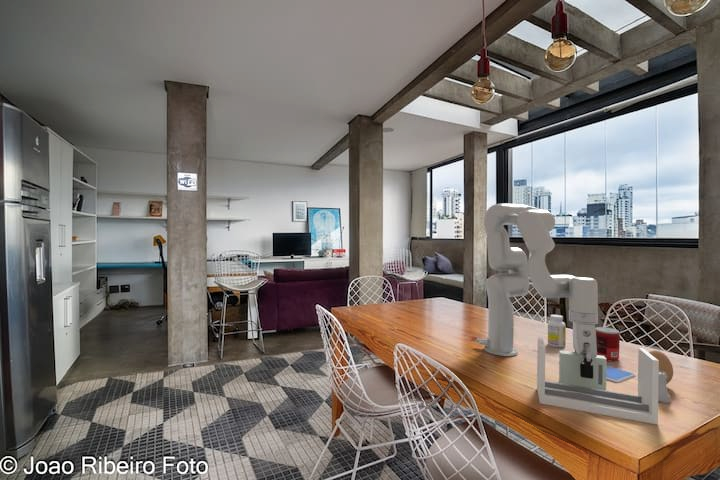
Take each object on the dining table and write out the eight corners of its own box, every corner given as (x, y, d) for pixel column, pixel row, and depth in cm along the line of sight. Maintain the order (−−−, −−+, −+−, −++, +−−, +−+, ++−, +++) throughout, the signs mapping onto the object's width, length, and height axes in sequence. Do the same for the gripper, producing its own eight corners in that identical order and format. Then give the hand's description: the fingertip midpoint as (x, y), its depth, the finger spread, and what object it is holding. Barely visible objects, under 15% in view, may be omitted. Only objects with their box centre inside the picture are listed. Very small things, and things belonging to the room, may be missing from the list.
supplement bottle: (560, 343, 149) (561, 314, 148) (568, 348, 142) (568, 317, 142) (544, 342, 149) (545, 313, 149) (551, 347, 143) (552, 317, 143)
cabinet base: (539, 403, 94) (540, 346, 94) (537, 388, 103) (537, 336, 103) (657, 424, 84) (658, 360, 84) (643, 406, 93) (643, 348, 93)
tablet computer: (557, 364, 125) (557, 361, 125) (577, 359, 131) (577, 355, 131) (617, 385, 108) (617, 380, 108) (636, 377, 114) (636, 373, 114)
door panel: (560, 384, 106) (560, 353, 106) (558, 380, 109) (559, 350, 109) (606, 392, 102) (606, 359, 102) (603, 387, 104) (604, 355, 104)
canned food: (620, 357, 131) (620, 329, 131) (617, 363, 125) (618, 333, 125) (596, 352, 136) (596, 325, 136) (593, 357, 131) (593, 329, 130)
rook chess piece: (645, 396, 99) (646, 369, 99) (659, 395, 99) (660, 368, 99) (660, 403, 94) (661, 375, 94) (675, 403, 95) (675, 375, 95)
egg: (642, 377, 112) (642, 345, 112) (673, 385, 107) (673, 350, 107) (640, 385, 107) (640, 350, 106) (672, 392, 101) (673, 356, 101)
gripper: (604, 324, 96) (605, 384, 96) (591, 312, 112) (591, 364, 111) (573, 321, 99) (574, 380, 99) (564, 311, 115) (565, 361, 114)
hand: (583, 371), depth 105 cm, fingers open, 9 cm apart
